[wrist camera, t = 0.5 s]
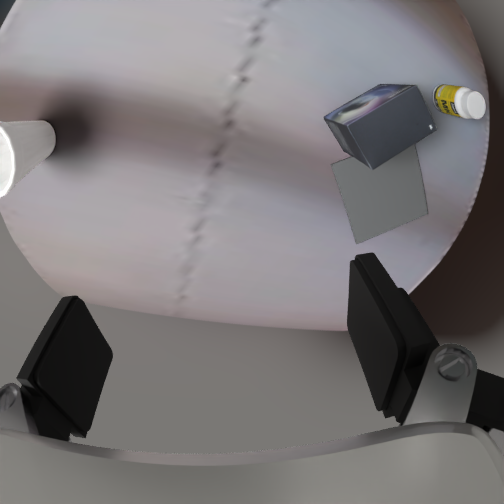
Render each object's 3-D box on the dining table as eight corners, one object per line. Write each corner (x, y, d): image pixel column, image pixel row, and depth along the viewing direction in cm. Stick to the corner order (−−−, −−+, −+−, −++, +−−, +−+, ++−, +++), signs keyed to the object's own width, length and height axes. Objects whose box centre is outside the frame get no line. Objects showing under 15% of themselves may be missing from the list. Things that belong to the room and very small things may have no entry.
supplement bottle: (426, 99, 36) (460, 105, 29) (439, 78, 34) (473, 81, 27) (445, 118, 37) (478, 128, 30) (457, 98, 35) (491, 105, 28)
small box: (379, 80, 35) (418, 81, 26) (400, 119, 38) (440, 130, 29) (320, 115, 38) (345, 124, 29) (344, 153, 41) (373, 173, 31)
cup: (17, 162, 37) (-34, 190, 26) (25, 104, 33) (-30, 118, 22) (61, 175, 40) (13, 208, 28) (72, 113, 35) (19, 128, 24)
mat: (330, 164, 41) (331, 165, 41) (411, 134, 39) (412, 135, 39) (355, 243, 48) (356, 244, 48) (426, 212, 45) (427, 213, 45)
